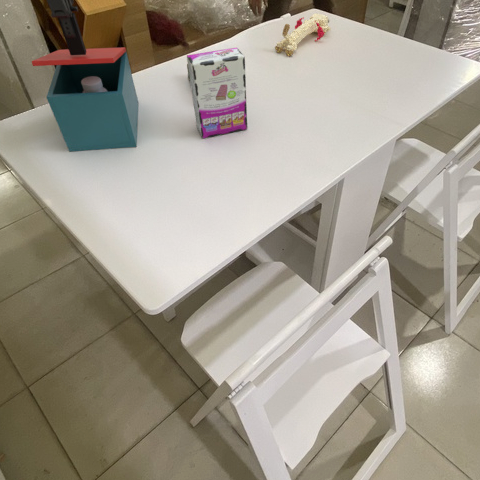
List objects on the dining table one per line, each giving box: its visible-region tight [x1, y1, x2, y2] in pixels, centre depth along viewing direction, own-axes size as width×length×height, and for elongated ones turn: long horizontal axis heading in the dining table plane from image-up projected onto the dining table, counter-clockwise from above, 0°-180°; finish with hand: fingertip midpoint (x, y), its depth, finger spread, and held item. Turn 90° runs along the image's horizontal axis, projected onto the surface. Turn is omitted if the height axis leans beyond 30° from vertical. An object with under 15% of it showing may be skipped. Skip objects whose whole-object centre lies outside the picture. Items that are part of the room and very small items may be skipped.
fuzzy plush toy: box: [274, 12, 332, 58], centre depth 123 cm, size 10×9×25 cm
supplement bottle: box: [81, 76, 108, 93], centre depth 87 cm, size 5×5×10 cm
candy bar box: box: [186, 47, 248, 139], centre depth 87 cm, size 11×5×16 cm, turn 114°
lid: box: [31, 46, 127, 67], centre depth 80 cm, size 20×14×1 cm
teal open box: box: [46, 51, 139, 152], centre depth 88 cm, size 19×14×12 cm
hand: (78, 53), depth 76 cm, fingers closed
